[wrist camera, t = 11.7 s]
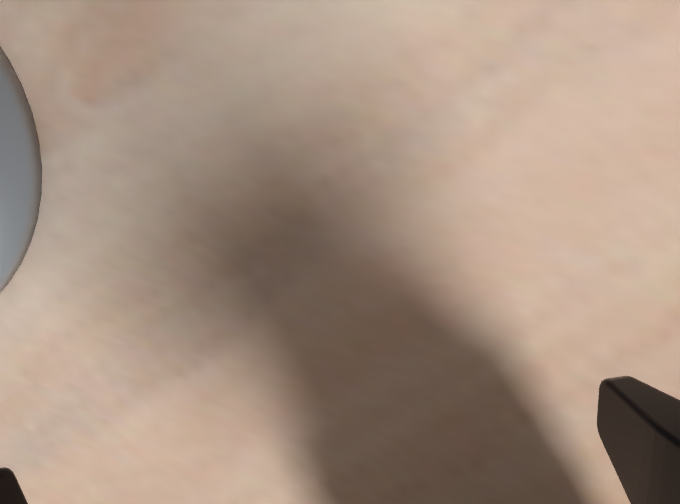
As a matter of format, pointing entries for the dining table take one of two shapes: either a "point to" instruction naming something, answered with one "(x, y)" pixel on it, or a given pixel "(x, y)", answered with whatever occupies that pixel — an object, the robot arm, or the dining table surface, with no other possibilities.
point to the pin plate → (16, 173)
